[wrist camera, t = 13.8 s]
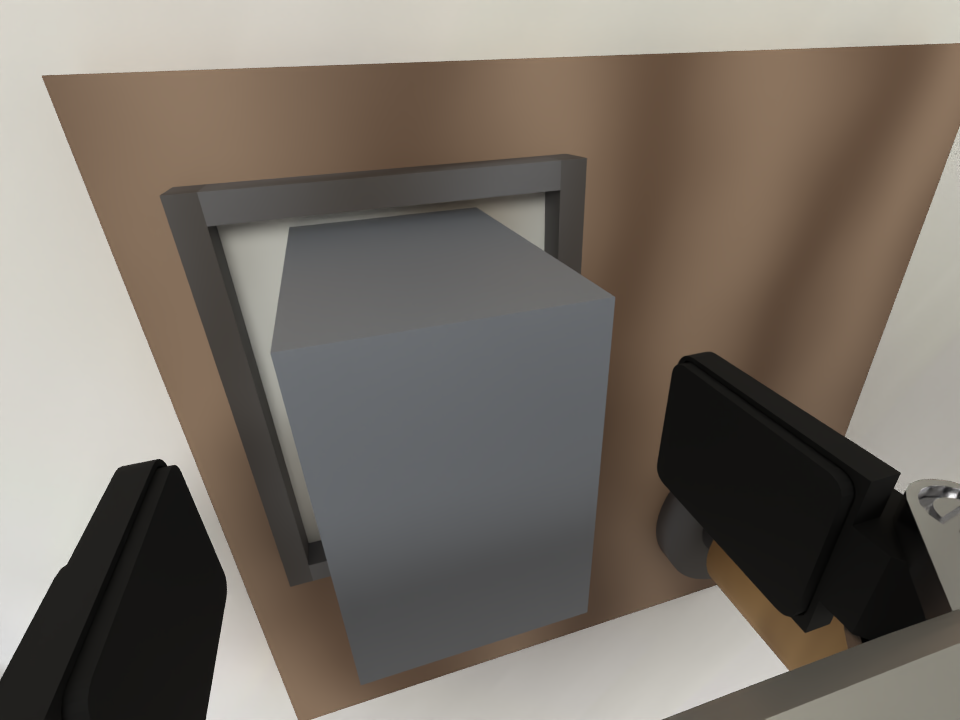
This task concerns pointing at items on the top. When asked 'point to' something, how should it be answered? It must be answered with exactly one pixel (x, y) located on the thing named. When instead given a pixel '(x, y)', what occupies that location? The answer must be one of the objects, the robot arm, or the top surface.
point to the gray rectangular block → (444, 427)
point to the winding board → (550, 226)
